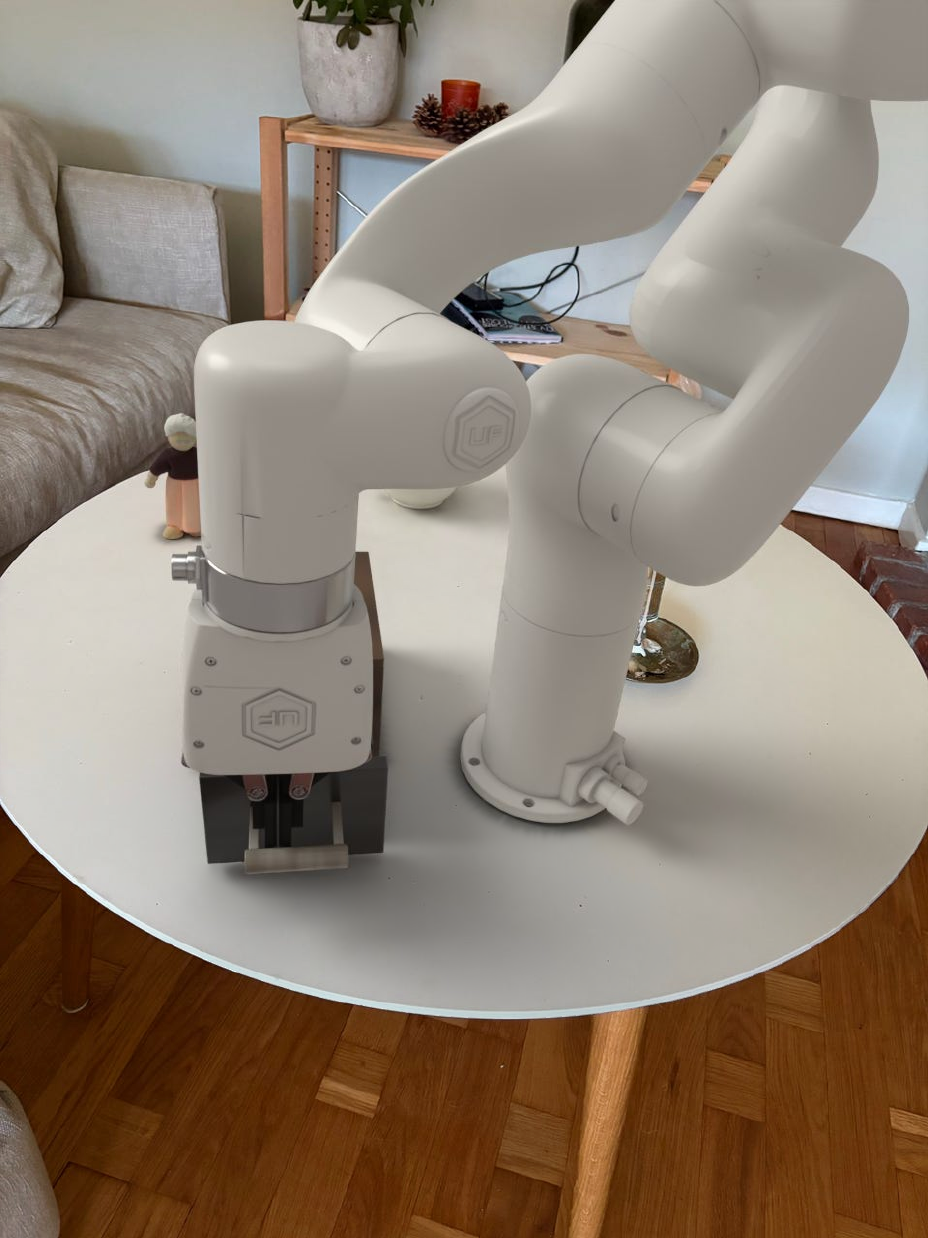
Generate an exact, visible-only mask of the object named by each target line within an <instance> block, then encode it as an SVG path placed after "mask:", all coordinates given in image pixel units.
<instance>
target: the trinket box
mask: <svg viewBox="0 0 928 1238" xmlns="http://www.w3.org/2000/svg"><path fill="white" fill-rule="evenodd" d="M457 489H458V487H453V488H444V489H383V491H384V492H385V493H387V495H388V496H390V499H391V500H392V502H394V503H395V504H396V505H398V506H401V507H403V508H407V509H412V510H429V509H433V508H437V507H439V506H440V505H442V504H443V502H444V501H445V500H446V499H447V498H449V497H450V496H452V495H453V493H454V492H455V491H456V490H457Z"/></svg>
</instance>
